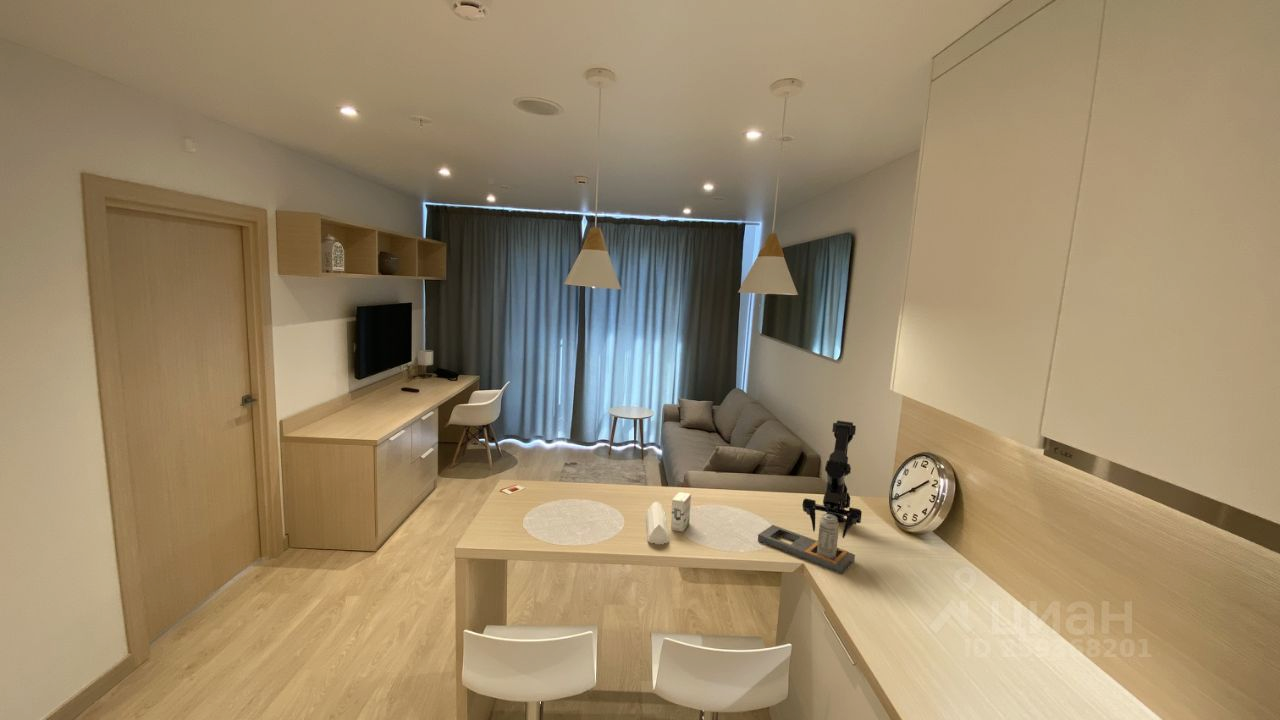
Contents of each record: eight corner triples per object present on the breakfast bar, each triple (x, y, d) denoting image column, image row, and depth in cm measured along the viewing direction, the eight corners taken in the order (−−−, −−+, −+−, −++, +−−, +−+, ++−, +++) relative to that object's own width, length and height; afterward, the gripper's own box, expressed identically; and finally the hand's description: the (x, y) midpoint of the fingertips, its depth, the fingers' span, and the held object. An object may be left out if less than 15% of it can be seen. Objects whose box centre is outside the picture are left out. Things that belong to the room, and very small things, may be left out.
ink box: (677, 520, 196) (679, 491, 195) (689, 522, 195) (691, 493, 193) (670, 529, 189) (671, 499, 187) (683, 532, 187) (684, 501, 185)
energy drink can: (838, 560, 171) (842, 517, 169) (829, 565, 167) (833, 522, 165) (822, 552, 176) (826, 511, 173) (813, 558, 172) (816, 516, 170)
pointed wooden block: (641, 506, 199) (643, 535, 175) (658, 497, 199) (661, 526, 175) (650, 522, 200) (653, 553, 176) (666, 513, 200) (671, 544, 176)
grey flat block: (757, 541, 182) (758, 533, 182) (772, 531, 190) (772, 524, 190) (842, 574, 162) (842, 566, 162) (854, 561, 170) (855, 553, 170)
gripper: (805, 476, 176) (797, 518, 168) (864, 486, 168) (859, 532, 160) (807, 490, 184) (799, 531, 176) (863, 500, 176) (858, 544, 168)
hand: (828, 534), depth 170 cm, fingers open, 9 cm apart
